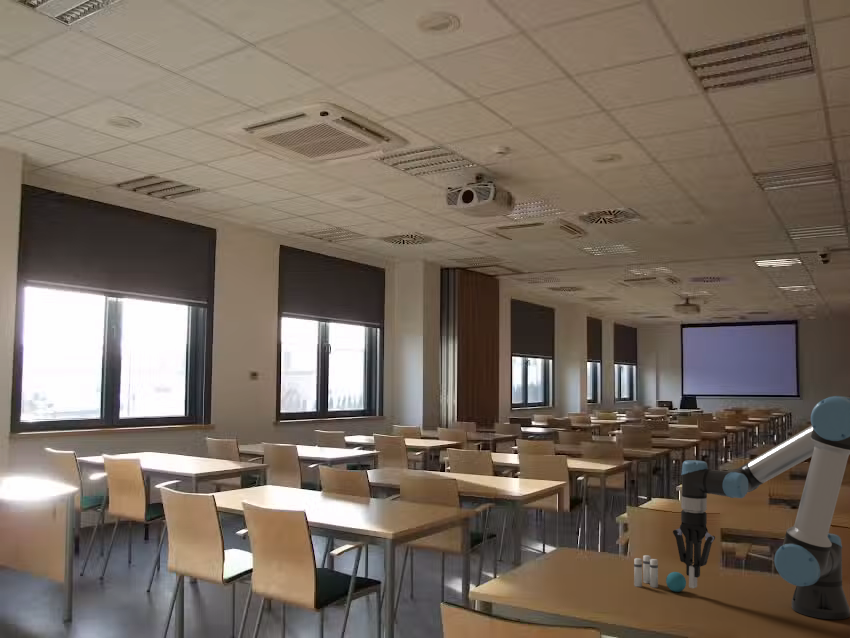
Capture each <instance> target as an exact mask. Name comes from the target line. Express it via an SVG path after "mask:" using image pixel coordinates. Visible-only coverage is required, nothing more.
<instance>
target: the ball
mask: <svg viewBox="0 0 850 638" xmlns="http://www.w3.org/2000/svg"><path fill="white" fill-rule="evenodd" d="M665 584H666V586H667V588H669V590H671V591H672V592H674V593H680V592H682V591H683V590H684V589H685V588H686V586H687V580H686V578H685V576H684V575H683V574H682V573H681V572H679V571H672V572H670V573H668V575H667V576H666V578H665Z"/></svg>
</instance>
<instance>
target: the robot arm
mask: <svg viewBox="0 0 850 638" xmlns="http://www.w3.org/2000/svg"><path fill="white" fill-rule="evenodd" d="M810 424H811V425H809V426H808V427H806V428H804V429H803V430H801V431H799V432H798V433H796V434H795V435H793V436H791V437H789V438H788V439H786V440H784V441H783V442H781V443H779V444H777V445H776V446H774V447H772V448H771V449H769V450H767V451H766V452H764V453H762V454H760V455H758V456H757V457H755V458H753V459H752V460H749V461H748V462H746V463H745V464H743V465H741V466H740V467H737V468H734V469H728V470H721V469H719V470H717V469H710V468H709V466H708V463H707V462H706V461H703V460H695V459H694V460H692V459H689V460H688V459H686V460H684V461H683V462H682V466H681V474H680V475H681V501H680V503H681V505H680V507H681V509H682V510H681V511H680V513H681V514H680V515H681V516H680V520H681V521H680V522H681V523H680V526H679V528H677V529H674V530H672V534H673V535H674V537H675V541H676V545H677V551H678V555H679V561H680V562H681V563H684V564H685V566H686V567H685V568H686V570H685V571H686V572H685V573H686V576H687V577H688V588H690V589H695V588H698V578H700V577H701V567H704V566H706V565H707V563H708V559H709V556H710V552H711V547H712V543H713V542H714V541H715V539H716V536H714V535H712V534H710V532H709V531H708V527H707V521H708V520H707V519H708V518H707V516H708V513H707V512H706V511H707V509H708V508H707V506H708V498H707V497H708V494H709V495H716V496H721V497H726V498H730V499H731V498H732V499H734V498H736V499H743V498H745V497H746V495H747V494H748V493H751V492H752V491H754V490H756V489H758V488H759V486H761V485H763V484H764V483H766V482H767V481H768V482H769V480H771V479H773V478H775V477H777V476H779V475H781V474H782V473H784V472H786V471H788V470H790V469H791V468H793V467H795V466H797V465H798V464H801V463H802V462H804V461H806V460H809V458H811V460H810V463H809V467H808V470H807V475H806V479H805V483H804V487H803V490H802V494H801V498H800V501H799V504H798V505H799V506H798V509H797V513H796V518H795V521H794V525H793V526H791V527H788V528H787V529H786V533H785V535H784V539H783V543H782V545H780V546H779V548H777V550H776V552H775V554H774V561H773V562H774V567H775V569H776V571H777V572H778V573H777V574H779V576H780V577H781V578H782V579H783V581H786V582H787V583H788V584H790V585H793V586H796V587H795V590H794V593H793V595H792V598H791V609H792V610H793V611H794V612H796V613H798V614H801V615H804V616H808V617H812V618H818V619H824V620H846V619H848V618H850V605H849V604H848V601H847V597H846V594H845V592H844V588H843V562H842V561H843V555H842V554H843V552H842V550H843V545H842V538H841V536H839V535H838V534H835V533H830V528H831V524H832V521H833V518H834V513H835V509H836V505H837V502H838V498H839V494H840V490H841V487H842V482H843V478H844V475H845V471H846V467H847V464H848V460H849V456H850V395H846V396H845V395H844V396H841V395H833V396H828V397H827V398H824V399H822V400H820V401H819V402H817V403H816V404H815V405H814V407H813V408H812V411H811V414H810ZM684 538H685V541H684ZM704 538H705V539H704ZM703 539H704V540H705V541H704V544H703V548H702V542H703Z"/></svg>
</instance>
